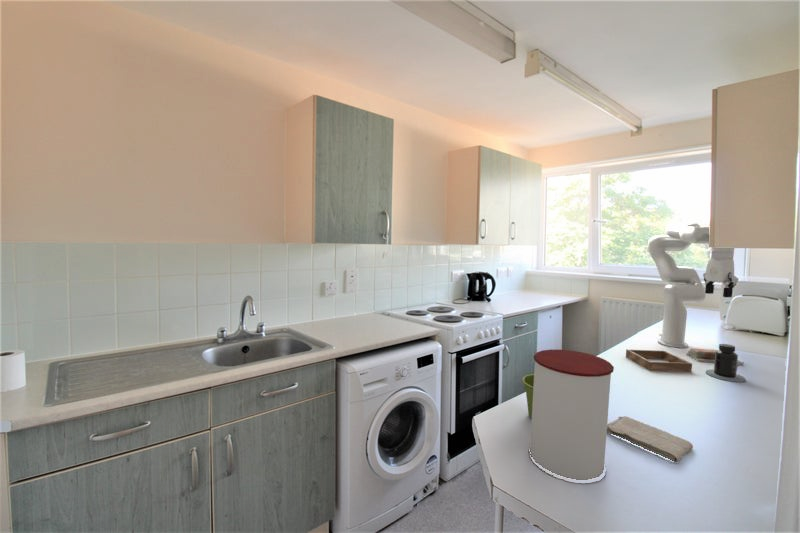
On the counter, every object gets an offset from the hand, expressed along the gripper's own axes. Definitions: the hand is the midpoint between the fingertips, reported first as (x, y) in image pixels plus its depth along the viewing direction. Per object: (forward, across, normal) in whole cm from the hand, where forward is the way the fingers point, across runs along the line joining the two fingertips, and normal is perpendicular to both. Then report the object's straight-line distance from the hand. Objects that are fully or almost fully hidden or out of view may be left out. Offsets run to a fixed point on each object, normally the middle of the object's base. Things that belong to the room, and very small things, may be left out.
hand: (718, 295), depth 161 cm
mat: (+30, +16, -7) cm, 35 cm away
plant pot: (+31, +57, -93) cm, 113 cm away
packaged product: (+31, -5, +5) cm, 32 cm away
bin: (+30, +4, -26) cm, 40 cm away
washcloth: (+31, +67, -68) cm, 101 cm away
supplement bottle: (+30, +16, -7) cm, 35 cm away
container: (+31, +78, -94) cm, 126 cm away
